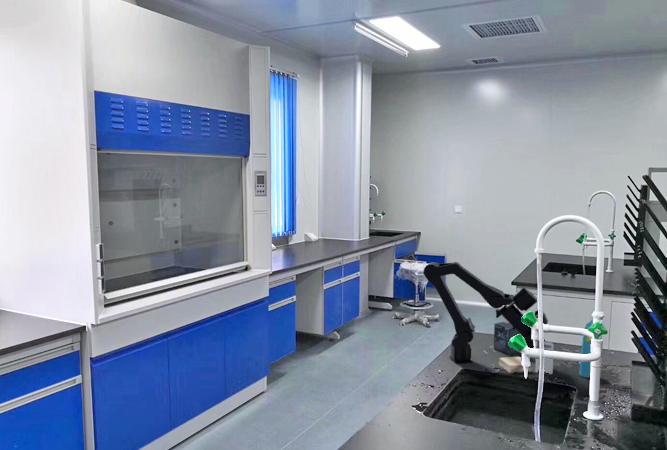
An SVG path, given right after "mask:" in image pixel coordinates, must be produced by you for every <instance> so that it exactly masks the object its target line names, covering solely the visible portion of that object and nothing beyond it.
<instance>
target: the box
mask: <svg viewBox="0 0 667 450" xmlns="http://www.w3.org/2000/svg"><path fill="white" fill-rule="evenodd" d="M493 326H494V329H493V331H494V333H493V350H497V351H500V352H502V353H504V354H506V355H512V354H516V353H518V352H517V351H516V350H514V349H513V348H510V347H509V346H508V342H509V339H510V338H511V337H513V336H515V335H517V334H519V333H518V332H517V331H516V330H513V329H512V325H511V324H510V323H509V322H506V321H501V322H500V321H499V322H496V323H494V325H493ZM519 335H520V334H519Z"/></svg>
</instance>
